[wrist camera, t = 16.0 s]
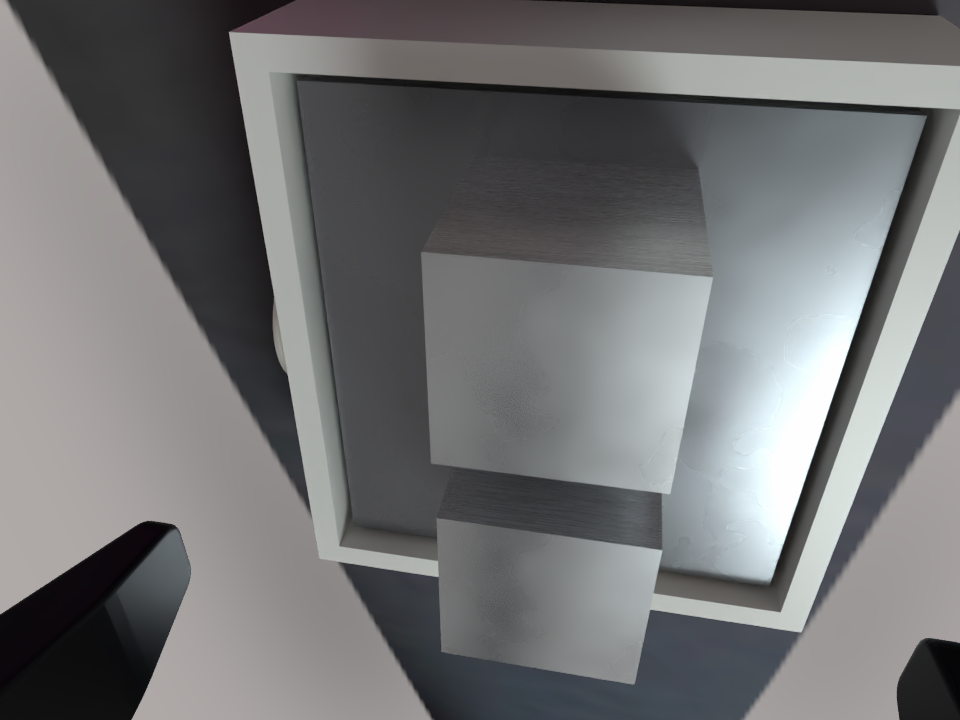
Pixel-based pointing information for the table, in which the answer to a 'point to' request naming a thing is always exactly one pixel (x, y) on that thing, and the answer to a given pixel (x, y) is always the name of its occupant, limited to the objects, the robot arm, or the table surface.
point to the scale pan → (732, 302)
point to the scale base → (618, 67)
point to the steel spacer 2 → (547, 572)
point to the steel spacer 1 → (565, 319)
